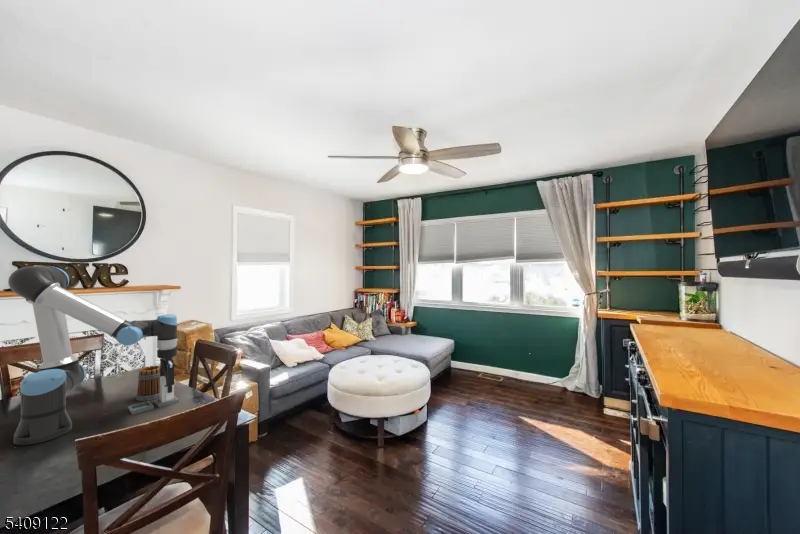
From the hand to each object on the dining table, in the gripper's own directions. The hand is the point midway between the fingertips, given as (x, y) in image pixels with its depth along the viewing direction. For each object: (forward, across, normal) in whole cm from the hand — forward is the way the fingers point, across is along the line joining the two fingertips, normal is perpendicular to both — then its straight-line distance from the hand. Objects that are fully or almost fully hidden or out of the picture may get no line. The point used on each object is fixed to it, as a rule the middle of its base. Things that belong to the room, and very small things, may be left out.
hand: (166, 397), depth 153 cm
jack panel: (+4, 0, +5) cm, 6 cm away
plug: (+3, 0, 0) cm, 3 cm away
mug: (+4, +15, +2) cm, 16 cm away
